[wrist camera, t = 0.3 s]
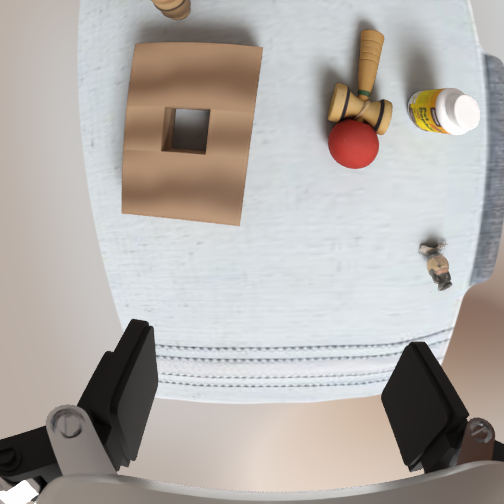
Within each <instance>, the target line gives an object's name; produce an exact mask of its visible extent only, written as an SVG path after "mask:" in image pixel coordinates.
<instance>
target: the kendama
mask: <svg viewBox="0 0 504 504" xmlns="http://www.w3.org/2000/svg"><path fill="white" fill-rule="evenodd" d="M383 42H384V36H383V35H382V34H381V33H380V32H378V31H375V30H363V31H362V32H361V46H360V58H359V69H358V97H356V96H355V95H354V94H353V93H352V92H351V91H350V90H349V88H348V87H347V85H344V84H340V83H337V84H336V86H335V89H334V92H333V96H332V100H331V104H330V108H329V113H328V120H330V121H333V122H336V123H337V124H336V125H335V126H334V127H333V128H332V130H331V132H330V134H329V138H328V146H329V150H330V153H331V155H332V157H333V158H334V159H335V160H336V161H337V162H338V163H339V164H341V165H342V166H345V167H347V168H352V169H358V168H363V167H366V166H368V165H369V164H370V163H372V161H373V160H374V159H375V157H376V155H377V153H378V149H379V141H378V137H377V134H379V135H383V134H384V133H385V132H386V130H387V128H388V126H389V123H390V120H391V116H392V108H393V107H392V103H391V102H389V101H387V100H385V99H382V100H380V101H377V102H370V100H369V97H370V94H371V91H372V88H373V85H374V81H375V78H376V74H377V69H378V65H379V59H380V55H381V50H382V46H383Z"/></svg>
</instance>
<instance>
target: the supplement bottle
mask: <svg viewBox="0 0 504 504" xmlns="http://www.w3.org/2000/svg"><path fill="white" fill-rule="evenodd" d="M408 113H409V116H410V119H411V120H412V122H413V123H414V124H415V125H416V126H417V127H418V128H420V129H422V130H425V131H431V132H439V133H445V134H452V135H461V134H464V133H466V132H467V131H468V130H471V129H474V128H475V127H476V126H477V125H478V123H479V120H480V111H479V107H478V105H477V103H476V101H475V100H474V99H473V98H472V97H471V96H469V95H466V94H464V93H463V92H461V91H460V90H458V89H455V88H445V89H434V90H425V91H419V92H416V93H415V94H413V95H412V97H411V98H410V100H409V103H408Z"/></svg>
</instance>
